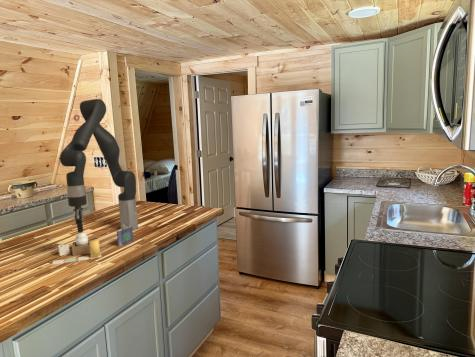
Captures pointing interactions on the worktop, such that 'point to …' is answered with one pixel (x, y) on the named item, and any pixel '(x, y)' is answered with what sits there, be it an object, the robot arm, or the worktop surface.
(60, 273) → the worktop surface
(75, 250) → the board
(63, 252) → the die
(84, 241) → the white rounded egg-shaped piece
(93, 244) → the yellow rounded oblong piece
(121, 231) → the navy rounded piece
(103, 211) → the worktop surface
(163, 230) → the worktop surface
